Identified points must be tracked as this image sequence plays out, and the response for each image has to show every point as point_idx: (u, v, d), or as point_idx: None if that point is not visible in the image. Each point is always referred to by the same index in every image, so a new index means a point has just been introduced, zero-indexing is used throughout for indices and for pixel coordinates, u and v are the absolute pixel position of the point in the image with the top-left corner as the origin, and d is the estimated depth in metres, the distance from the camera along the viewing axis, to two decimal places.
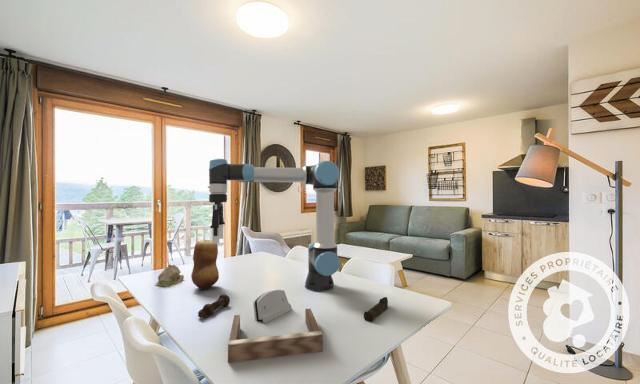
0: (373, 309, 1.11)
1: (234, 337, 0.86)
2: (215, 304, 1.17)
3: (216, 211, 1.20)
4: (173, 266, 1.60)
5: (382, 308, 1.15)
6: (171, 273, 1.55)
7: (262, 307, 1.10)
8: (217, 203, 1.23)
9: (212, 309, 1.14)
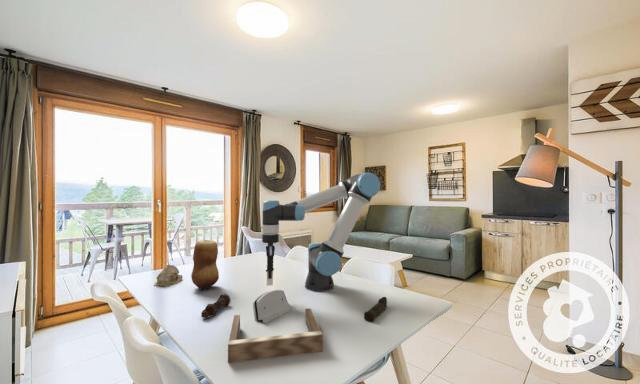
0: (373, 309, 1.11)
1: (234, 337, 0.86)
2: (217, 304, 1.17)
3: (271, 257, 1.26)
4: (172, 266, 1.60)
5: (381, 308, 1.16)
6: (170, 273, 1.55)
7: (262, 307, 1.10)
8: (271, 244, 1.27)
9: (215, 309, 1.14)
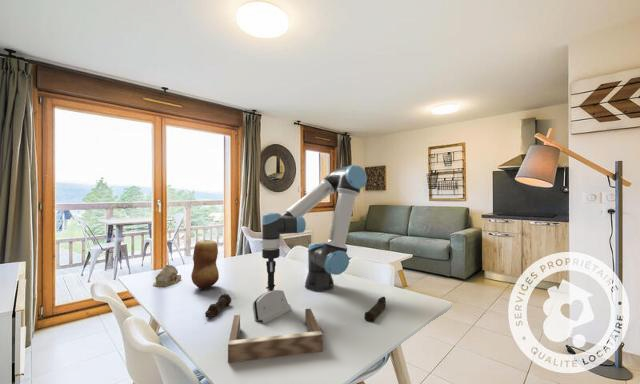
0: (373, 309, 1.11)
1: (234, 337, 0.86)
2: (219, 304, 1.18)
3: (272, 274, 1.19)
4: (171, 266, 1.59)
5: (381, 308, 1.16)
6: (169, 273, 1.55)
7: (262, 307, 1.10)
8: (271, 260, 1.20)
9: (218, 308, 1.14)
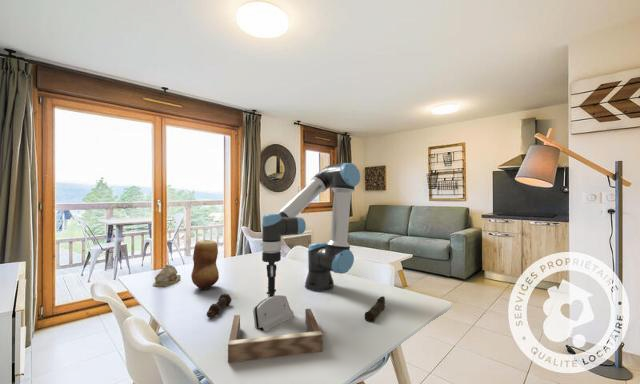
0: (373, 309, 1.11)
1: (234, 337, 0.86)
2: (220, 303, 1.18)
3: (272, 278, 1.12)
4: (170, 266, 1.59)
5: (381, 308, 1.16)
6: (169, 273, 1.55)
7: (262, 314, 1.04)
8: (272, 263, 1.13)
9: (219, 308, 1.14)
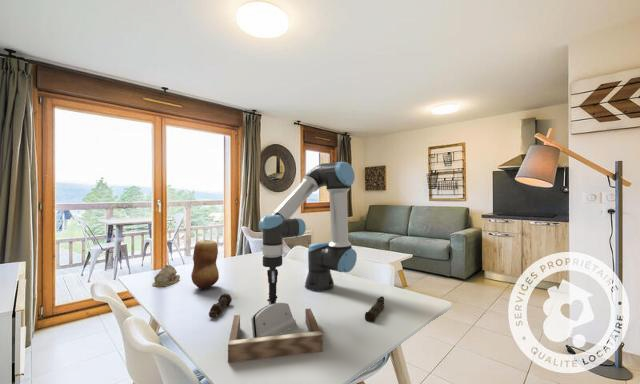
0: (373, 309, 1.11)
1: (234, 337, 0.86)
2: (221, 303, 1.18)
3: (273, 285, 1.04)
4: (169, 266, 1.59)
5: (380, 308, 1.16)
6: (168, 273, 1.55)
7: (261, 323, 0.96)
8: (273, 269, 1.05)
9: (221, 308, 1.15)
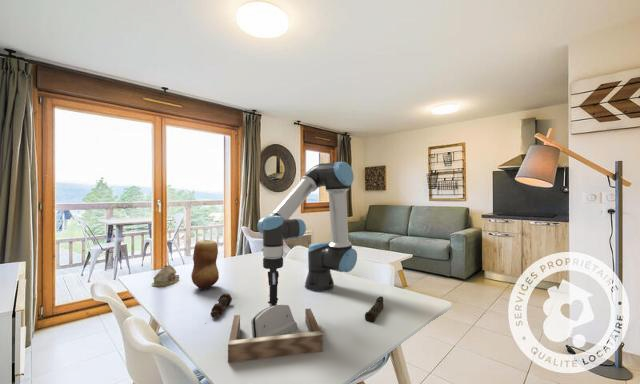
0: (373, 309, 1.11)
1: (234, 337, 0.86)
2: (222, 303, 1.18)
3: (274, 287, 1.02)
4: (169, 266, 1.59)
5: (380, 308, 1.16)
6: (168, 273, 1.55)
7: (261, 326, 0.94)
8: (274, 270, 1.04)
9: (223, 308, 1.15)
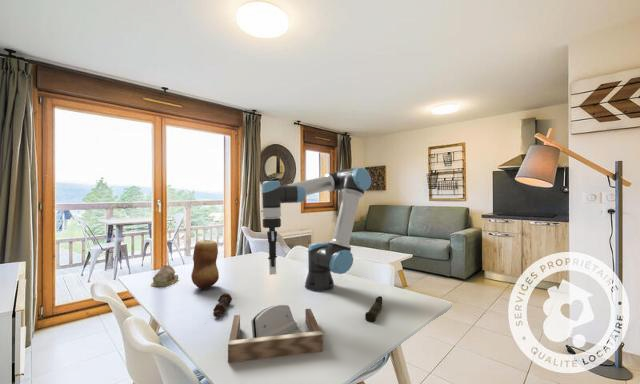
0: (373, 309, 1.11)
1: (234, 337, 0.86)
2: (224, 303, 1.18)
3: (273, 243, 1.14)
4: (168, 266, 1.59)
5: (379, 307, 1.16)
6: (167, 273, 1.55)
7: (261, 326, 0.94)
8: (272, 229, 1.15)
9: (225, 307, 1.15)
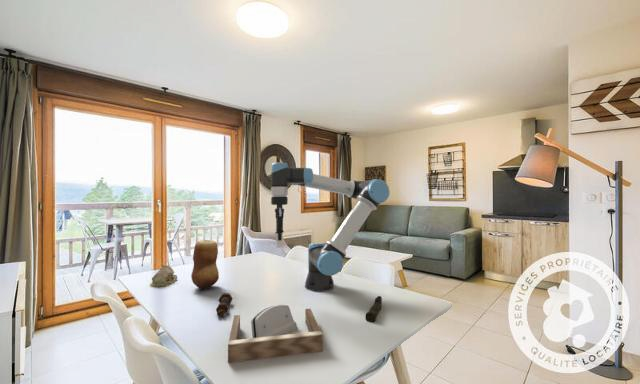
0: (373, 309, 1.11)
1: (234, 337, 0.86)
2: (226, 302, 1.19)
3: (280, 218, 1.26)
4: (167, 266, 1.59)
5: (379, 307, 1.16)
6: (166, 273, 1.55)
7: (261, 326, 0.94)
8: (280, 205, 1.27)
9: (227, 307, 1.16)
